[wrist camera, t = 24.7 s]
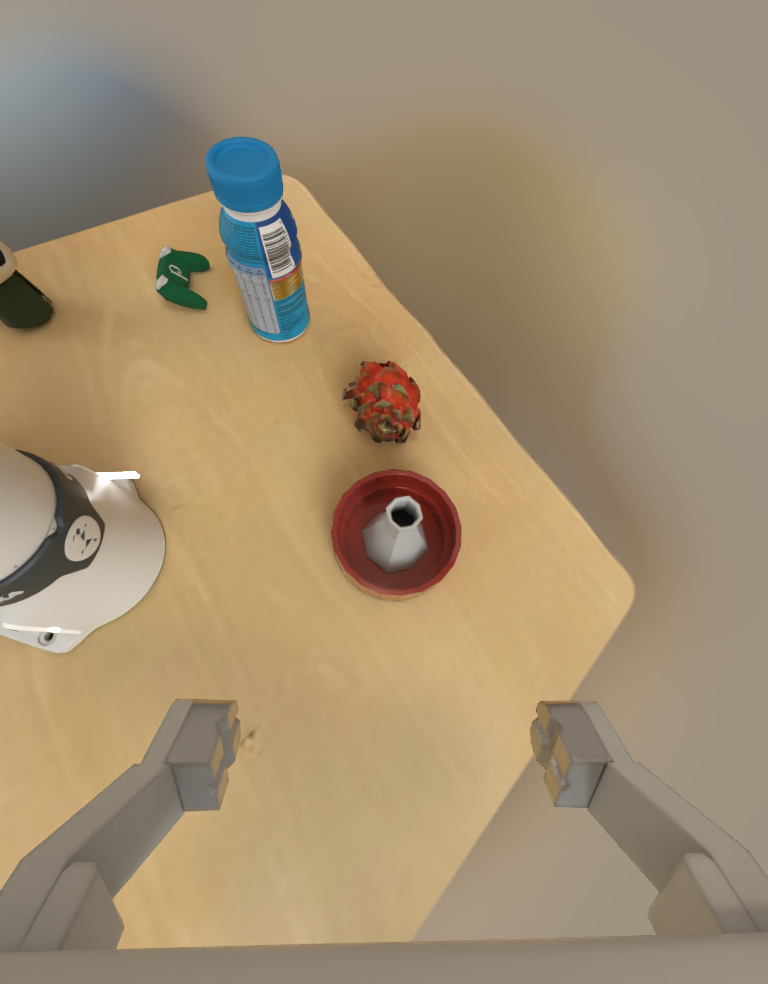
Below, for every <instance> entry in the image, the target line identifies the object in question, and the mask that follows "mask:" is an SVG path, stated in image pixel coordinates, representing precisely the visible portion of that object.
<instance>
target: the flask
mask: <svg viewBox="0 0 768 984" xmlns="http://www.w3.org/2000/svg"><path fill="white" fill-rule="evenodd" d="M422 519H423V516H422V512H421V508H420V505H419V504H418V503H417V502H416V501H415V500H413V499H412V498H411V497H410V496H405V497H399V498H395V499H394V500H393V501H392V502H391V503H390V504H389V505H388V506H387V507H386V512H381V513H378V514H377V516H376V517H375V518H374V519H373V520H372V521H371V522H370V523H369V524H368V525H367V526H366V527H365V528H364V529H363V530H362V533H363V538H364V544H365V549H366V554H367V556H368V557H369V558H370V559H371V560H372V561H373V562H374V563H375V564H377V565H378V566H379V567H380V568H381V569H382V570H383V571H384V572H385V573H390V572H395V571H400V570H405V569H411V568H413V566H414V565H415V564H416V563H417V562H418V561H419V559H420V558H421V557H422V556H423V555H424V554H425V553H426V551H427V550H428V545H427V541H426V537H425V533H424V529H423V525H422V524H421V523H420V521H421V520H422Z"/></svg>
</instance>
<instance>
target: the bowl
mask: <svg viewBox="0 0 768 984" xmlns="http://www.w3.org/2000/svg"><path fill="white" fill-rule="evenodd" d="M405 496H410V497H411V498H412V499H413V500H415V501H416V502H417V503H418V504H419V505H420V508H421V512H422V516H423V519H422V520H421V521H420V523H421V524H422V525H423V529H424V533H425V537H426V541H427V545H428V550H427V551H426V553H425V554H424V555H423V556H422V557H421V558H420V559H419V561H418V562H417V563H416V564H415V565H414V566H413V568H411V569H405V570H400V571H395V572H390V573H385V572H384V571H383V570H382V569H381V568H380V567H379V566H378V565H377V564H375V563H374V562H373V561H372V560H371V559H370V558H369V557H368V556H367V554H366V549H365V544H364V538H363V533H362V530H363V529H364V528H365V527H366V526H367V525H368V524H369V523H370V522H371V521H372V520H373V519H374V518H375V517H376V516H377V514H378V513H381V512H386V507H387V506H388V505H389V504H390V503H391V502H392V501H393V500H394V499H395V498H399V497H405ZM331 534H332V539H333V545H334V551H335V555H336V558H337V561H338V563H339V565H340V567H341V569H342V571H343V572H344V574H345V576H346V578H347V579H349V580H350V581H351V582H352V583H353V584H354V585H355V586H356V587H357V588H358V589H359V590H361V591H362V592H365V593H367V594H369V595H371V596H373V597H375V598H378V599H385V600H394V601H400V600H404V599H409V598H413V597H417V596H419V595H421V594H422V593H424V592H425V591H427V590H429V589H430V588H432V587H433V586H435V585H436V584H437V583H439V582H440V581H441V580H442V579H443V578H444V577H445V575H446V574H447V573H448V572H449V570H450V569H451V568H452V567H453V565H454V564H455V561H456V558H457V555H458V553H459V550H460V547H461V524H460V520H459V517H458V513H457V510H456V507H455V506H454V504H453V503H452V501H451V500H450V498H449V497H448V495H447V494H446V492H445V491H444V490H443V489H441V488H440V487H439V486H438V485H436V484H435V483H434V482H433V481H432V480H430V479H428V478H426V477H424V476H421V475H419V474H417V473H414V472H411V471H402V470H394V469H392V470H386V471H380V472H375V473H372V474H370V475H368V476H366V477H365V478H363V479H361V480H359V481H357V482H356V483H355V484H354V485H353V486H352V487H351V488H350V489H349V490H348V491H347V492H346V493H345V494H344V495H343V496H342V498H341V500H340V502H339V504H338V506H337V508H336V510H335V512H334V516H333V523H332V530H331Z"/></svg>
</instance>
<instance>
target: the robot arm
mask: <svg viewBox="0 0 768 984" xmlns="http://www.w3.org/2000/svg"><path fill="white" fill-rule="evenodd" d="M139 477H140V475H139V474H137V473H136V472H107V473H95V472H94V471H92V470H90V469H88V468H86V467H84V466H81V465H78V464H72V465H71V466H58V465H56V464H54V463H52V462H50V461H49V460H46V459H44V458H41V457H38V456H36V455H34V454H31V453H29V452H25V451H21V450H16V449H13V448H11V447H9V446H7V445H5V444H4V443H2V442H0V635H2V636H5V637H8V638H11V639H14V640H17V641H20V642H23V643H26V644H28V645H31V646H34V647H37V648H40V649H43V650H46V651H49V652H53V653H67V652H69V651H70V650H72V649H73V648H75V647H76V646H77V645H78V644H79V643H81V642H82V641H83V640H84V639H85V638H86V637H87V636H88V635H89V634H90V633H91V632H92V631H93V630H95V629H97V628H98V627H100V626H102V625H104V624H106V623H109V622H111V621H113V620H115V619H117V618H118V617H120V616H122V615H123V614H125V613H126V612H128V611H129V610H130V609H132V608H133V607H134V606H135V605H136V604H137V603H138V602H139V601H140V600H141V599H142V598H143V597H144V596H145V595H146V594H147V592H148V591H149V590H150V588H151V587H152V585H153V584H154V582H155V580H156V578H157V576H158V574H159V572H160V570H161V567H162V563H163V559H164V554H165V538H164V532H163V529H162V526H161V524H160V522H159V520H158V518H157V517H156V515H155V514H154V513H153V512H152V511H151V509H149V508H148V507H147V506H146V505H145V504H144V503H143V502H142V501H141V500H140V498H139V496H138V493H137V490H136V487H135V485H134V483H133V481H132V480H131V479H130V478H139ZM51 633H53V634H54V636H53V638H52V639H51V640H50V639H49V637H50V635H51ZM237 711H238V706H237V701H236V700H202V699H176V700H175V701H174V702H173V703H172V705H171V706H170V708H169V710H168V712H167V713H166V715H165V717H164V719H163V721H162V723H161V725H160V727H159V729H158V731H157V733H156V735H155V737H154V739H153V740H152V742H151V744H150V746H149V748H148V750H147V752H146V754H145V756H144V758H143V760H142V762H141V764H134V765H132V766H131V767H130V768H129V769H128V770H127V771H125V772H124V773H123V774H122V775H121V776H120V777H118V778H117V779H116V780H115V781H114V782H112V783H111V784H110V785H109V786H108V787H107V788H105V789H104V790H103V791H102V792H101V793H99V794H98V795H97V796H96V797H95V798H94V799H92V800H91V801H90V802H89V803H88V804H86V805H85V806H84V807H83V808H82V809H81V810H79V811H78V812H77V813H76V814H75V815H73V816H72V817H71V818H70V819H69V820H68V821H66V822H65V823H64V824H63V825H62V826H61V827H59V828H58V829H57V830H56V831H55V832H53V833H52V834H51V835H50V836H49V837H48V838H46V839H45V840H44V841H43V842H42V843H40V844H39V845H38V846H37V847H36V848H35V849H33V850H32V851H31V852H30V853H29V854H27V855H26V856H25V857H24V858H23V859H22V860H20V862H19V863H18V865H17V867H16V868H15V870H14V871H13V873H12V874H11V876H10V877H9V879H8V880H7V882H6V883H5V885H4V887H3V888H2V890H1V891H0V984H768V877H767V875H766V874H765V872H764V871H763V869H762V868H761V867H760V865H759V864H758V862H757V861H756V860H755V858H754V857H753V855H752V854H751V853H750V851H749V850H748V849H747V848H745V847H744V846H743V845H741V844H740V843H739V842H738V841H737V840H735V839H734V838H733V837H732V836H730V835H729V834H728V833H727V832H725V831H724V830H723V829H722V828H720V827H719V826H718V825H717V824H715V823H714V822H713V821H712V820H710V819H709V818H708V817H707V816H705V815H704V814H703V813H702V812H701V811H699V810H698V809H697V808H696V807H694V806H693V805H692V804H691V803H689V802H688V801H687V800H686V799H685V798H683V797H682V796H681V795H680V794H678V793H677V792H676V791H675V790H673V789H672V788H671V787H670V786H668V785H667V784H666V783H665V782H663V781H662V780H661V779H660V778H658V777H657V776H656V775H655V774H653V773H652V772H651V771H650V770H649V769H647V768H646V767H645V766H644V765H642V764H641V763H639V762H638V763H637V762H634V761H633V760H632V758H631V756H630V755H629V753H628V751H627V750H626V748H625V746H624V745H623V743H622V741H621V740H620V738H619V736H618V735H617V733H616V731H615V730H614V728H613V726H612V725H611V723H610V721H609V720H608V718H607V717H606V715H605V713H604V712H603V710H602V708H601V707H600V705H599V704H598V703H597V702H594V701H540V702H539V703H538V705H537V708H536V712H537V714H538V717H537V718H536V719H535V720H534V721H532V725H531V729H530V734H531V744H532V748H533V752H534V754H535V757H536V760H537V761H538V762H539V763H540V764H541V765H542V766H543V767H544V768H545V769H546V771H545V775H544V781H545V784H546V786H547V789H548V791H549V794H550V797H551V799H552V802H553V804H554V807H574V808H576V807H577V808H588V809H587V810H588V811H589V812H590V813H591V815H593V817H594V818H595V819H596V820H597V821H598V823H599V824H600V825H601V826H602V827H603V828H604V829H605V830H606V832H607V833H608V834H609V835H610V836H611V837H612V838H613V839H614V841H615V842H616V843H617V844H618V845H619V846H620V848H621V849H622V850H623V851H624V852H625V853H626V854H627V855H628V857H629V858H630V859H631V860H632V861H633V862H634V863H635V865H636V866H637V867H638V868H639V869H640V870H641V871H642V873H643V874H644V875H645V876H646V877H647V878H648V879H649V880H650V882H651V883H652V884H653V885H654V886H655V887H656V888H657V890H658V891H659V894H658V895H657V897H656V898H655V900H654V901H653V903H652V904H651V906H650V908H649V911H648V914H647V915H648V918H649V920H650V922H651V924H652V926H653V928H654V930H655V933H656V935H642V936H603V937H564V938H528V939H486V940H449V941H448V940H447V941H408V942H369V943H330V944H292V945H254V946H216V947H178V948H140V949H116V948H117V945H118V942H119V940H120V937H121V935H122V932H123V930H124V924H123V921H122V918H121V916H120V914H119V912H118V910H117V908H116V906H115V903H114V901H113V898H114V896H115V895H116V894H117V893H118V892H119V890H120V889H121V888H122V887H123V886H124V885H125V883H126V882H127V881H128V880H129V879H130V877H131V876H132V875H133V874H134V873H135V871H136V870H137V869H138V868H139V867H140V865H141V864H142V863H143V862H144V861H145V859H146V858H147V857H148V856H149V855H150V853H151V852H152V851H153V850H154V849H155V848H156V846H157V845H158V844H159V843H160V842H161V840H162V839H163V838H164V837H165V836H166V834H167V833H168V832H169V831H170V830H171V828H172V827H173V826H174V825H175V824H176V822H177V821H178V820H179V819H180V818H181V817H182V815H183V812H184V811H209V810H220V807H221V804H222V801H223V798H224V794H225V791H226V788H227V785H228V782H229V778H228V772H227V769H228V768H229V767H230V766H231V765H232V764H233V763H234V761H235V759H236V755H237V752H238V747H239V742H240V733H241V726H240V721H239V720H238V719H237V718H236V714H237Z"/></svg>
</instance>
